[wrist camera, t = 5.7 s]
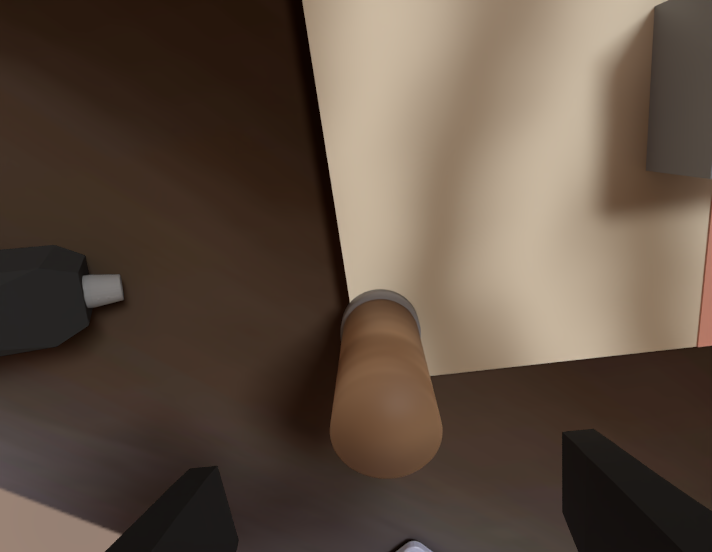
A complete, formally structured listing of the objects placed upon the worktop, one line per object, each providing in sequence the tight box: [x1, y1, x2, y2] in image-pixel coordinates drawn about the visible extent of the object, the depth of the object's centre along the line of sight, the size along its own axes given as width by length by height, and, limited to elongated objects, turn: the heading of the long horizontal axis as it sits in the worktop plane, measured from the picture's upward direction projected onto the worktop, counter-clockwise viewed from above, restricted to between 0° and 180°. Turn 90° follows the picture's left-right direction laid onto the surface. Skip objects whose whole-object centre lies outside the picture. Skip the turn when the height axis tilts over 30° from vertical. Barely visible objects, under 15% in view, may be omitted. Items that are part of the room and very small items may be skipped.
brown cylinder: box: [330, 289, 442, 479], centre depth 14 cm, size 3×3×6 cm
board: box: [302, 0, 712, 376], centre depth 15 cm, size 24×15×1 cm, turn 98°
